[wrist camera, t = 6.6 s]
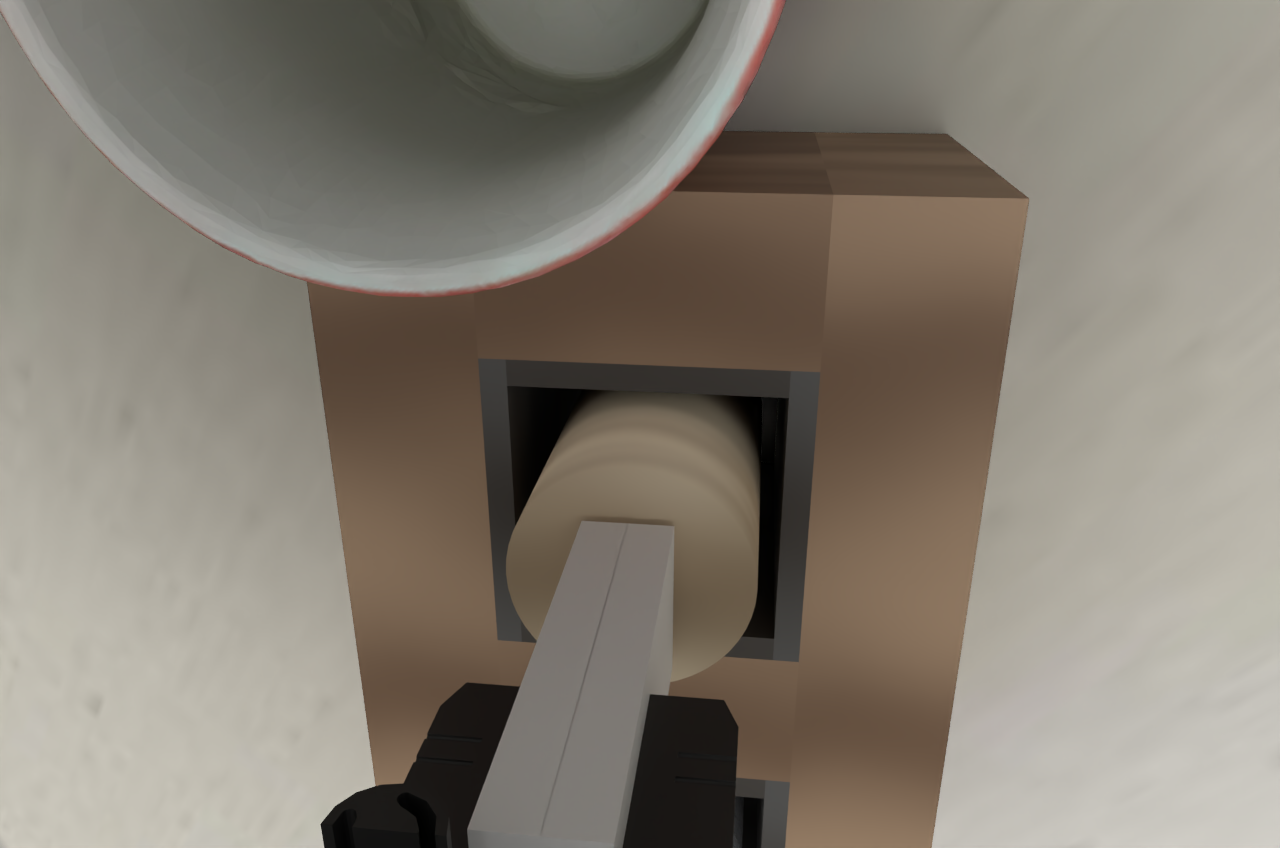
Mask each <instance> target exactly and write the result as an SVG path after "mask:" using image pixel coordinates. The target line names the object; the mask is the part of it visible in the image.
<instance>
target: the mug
mask: <svg viewBox="0 0 1280 848" xmlns="http://www.w3.org/2000/svg"><path fill="white" fill-rule="evenodd" d="M785 2H786V0H0V12H1V13H2V15H3V17H4V19H5V21H6V22H7V24H8V26H9V28H10V29H11V31H12V33H13V35H14V36H15V38H16V40H17V41H18V43H19V45H20V46H21V48H22V50H23V51H24V53H25V54H26V56H27V58H28V59H29V61H30V62H31V64H32V66H33V67H34V69H35V70H36V72H37V74H38V75H39V76H40V78H41V79H42V81H43V82H44V84H45V85H46V86H47V88H48V89H49V91H50V92H51V94H52V95H53V96H54V97H55V99H56V100H57V101H58V102H59V104H60V105H61V106H62V108H63V109H64V110H65V111H66V113H67V114H68V115H69V116H70V118H71V119H72V120H73V121H74V123H75V124H76V125H77V126H78V128H79V129H80V130H81V131H82V132H83V134H84V135H85V136H86V137H87V138H88V139H89V140H90V141H91V142H92V143H93V144H94V146H95V147H96V148H97V149H98V150H99V151H100V152H101V153H102V154H103V155H104V156H105V157H106V158H107V159H108V160H109V161H110V162H111V163H112V164H113V165H114V166H115V167H116V168H117V169H118V170H119V171H120V172H122V173H123V174H124V175H125V176H126V177H127V178H128V179H129V180H131V181H132V182H133V183H134V184H135V185H136V186H137V187H139V188H140V189H141V190H142V191H143V192H145V193H146V194H147V195H148V196H150V197H151V198H152V199H153V200H155V201H156V202H157V203H158V204H160V205H161V206H162V207H163V208H165V209H166V210H168V211H169V212H170V213H172V214H173V215H175V216H176V217H177V218H179V219H180V220H182V221H183V222H184V223H186V224H187V225H189V226H190V227H191V228H193V229H194V230H196V231H197V232H199V233H201V234H202V235H204V236H205V237H207V238H209V239H210V240H212V241H214V242H215V243H217V244H219V245H220V246H222V247H223V248H226V249H228V250H230V251H232V252H234V253H236V254H238V255H240V256H242V257H244V258H246V259H248V260H250V261H252V262H254V263H257V264H260V265H263V266H266V267H269V268H271V269H273V270H276V271H278V272H281V273H283V274H285V275H288V276H291V277H295V278H298V279H301V280H304V281H308V282H311V283H314V284H319V285H323V286H327V287H332V288H336V289H340V290H346V291H352V292H358V293H365V294H371V295H378V296H395V297H445V296H454V295H463V294H471V293H476V292H480V291H484V290H490V289H496V288H501V287H505V286H508V285H511V284H515V283H518V282H521V281H525V280H528V279H532V278H535V277H539V276H541V275H543V274H546V273H548V272H550V271H552V270H555V269H557V268H559V267H562V266H564V265H566V264H569V263H571V262H573V261H576V260H578V259H579V258H581V257H583V256H585V255H586V254H588V253H590V252H592V251H593V250H595V249H597V248H599V247H600V246H602V245H604V244H606V243H608V242H609V241H611V240H612V239H614V238H615V237H617V236H618V235H620V234H621V233H622V232H624V231H625V230H626V229H628V228H629V227H631V226H632V225H633V224H635V223H636V222H637V221H639V220H640V219H642V218H643V217H644V216H645V215H646V214H648V213H649V212H650V211H651V210H652V209H654V208H655V207H656V206H657V205H658V204H660V203H661V202H662V201H663V200H664V199H666V198H667V197H668V196H669V194H670V193H671V192H672V191H673V190H674V189H675V188H676V187H677V186H678V184H679V183H680V182H681V181H682V180H683V179H684V178H685V177H686V176H687V175H688V174H689V173H690V172H691V171H692V170H693V169H694V168H695V167H696V166H697V164H698V163H699V162H700V160H701V159H702V158H703V156H704V155H705V154H706V152H707V151H708V150H709V149H710V147H711V146H712V145H713V144H714V142H715V141H716V140H717V139H718V137H719V136H720V134H721V133H722V131H723V129H724V127H725V126H726V124H727V122H728V121H729V119H730V118H731V117H732V115H733V114H734V112H735V111H736V110H737V108H738V107H739V105H740V104H741V103H742V101H743V99H744V97H745V95H746V93H747V91H748V89H749V87H750V85H751V84H752V82H753V80H754V78H755V76H756V74H757V72H758V70H759V67H760V65H761V62H762V60H763V57H764V55H765V53H766V50H767V48H768V46H769V43H770V41H771V39H772V37H773V34H774V32H775V30H776V27H777V24H778V21H779V19H780V16H781V13H782V10H783V7H784V5H785Z"/></svg>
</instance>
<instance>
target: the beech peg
mask: <svg viewBox="0 0 1280 848" xmlns="http://www.w3.org/2000/svg"><path fill="white" fill-rule="evenodd" d="M761 445H762V399H761V397H752V396H729V395H706V394H683V393H660V392H637V391H614V390H591V389H582V391H581V393H580V395H579V397H578V399H577V401H576V403H575V405H574V407H573V410H572V412H571V414H570V416H569V418H568V420H567V422H566V424H565V426H564V428H563V430H562V432H561V434H560V436H559V438H558V440H557V442H556V444H555V446H554V448H553V451H552V453H551V455H550V457H549V459H548V461H547V463H546V465H545V467H544V469H543V471H542V473H541V475H540V477H539V479H538V481H537V483H536V485H535V487H534V489H533V491H532V494H531V496H530V498H529V500H528V502H527V504H526V506H525V508H524V510H523V512H522V514H521V516H520V518H519V520H518V522H517V524H516V526H515V528H514V530H513V533H512V536H511V539H510V542H509V545H508V551H507V557H506V577H507V584H508V589H509V593H510V596H511V600H512V602H513V605H514V607H515V609H516V611H517V614H518V615H519V617H520V619H521V620H522V622H523V624H524V625H525V627H526V628H527V629H528V631H529V632H530V633H531V635H532V636H533V637H534V638H535V639H536V640H538V637H539V634H540V632H541V629H542V626H543V624H544V621H545V618H546V616H547V613H548V610H549V608H550V605H551V602H552V599H553V597H554V594H555V591H556V589H557V586H558V583H559V581H560V578H561V575H562V573H563V570H564V567H565V564H566V562H567V559H568V556H569V554H570V551H571V548H572V546H573V543H574V540H575V538H576V535H577V532H578V529H579V527H580V524H581V521H595V522H613V523H630V524H647V525H664V526H674V586H673V657H672V673H671V680H670V682H673V681H678V680H681V679H684V678H687V677H690V676H692V675H694V674H697V673H699V672H701V671H703V670H705V669H707V668H708V667H710V666H711V665H713V664H715V663H716V662H718V661H719V660H720V659H721V658H722V657H724V656H725V655H726V654H727V653H728V652H729V651H730V650H731V649H732V648H733V647H734V646H735V644H736V643H737V642H738V641H739V639H740V638H741V636H742V635H743V633H744V632H745V630H746V628H747V626H748V624H749V622H750V620H751V618H752V615H753V611H754V608H755V604H756V597H757V590H758V554H759V517H760V481H761Z"/></svg>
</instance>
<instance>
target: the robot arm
mask: <svg viewBox="0 0 1280 848" xmlns="http://www.w3.org/2000/svg"><path fill="white" fill-rule="evenodd" d="M673 586H674V526H664V525H647V524H630V523H613V522H595V521H581V524H580V527H579V529H578V532H577V535H576V538H575V540H574V543H573V546H572V548H571V551H570V554H569V556H568V559H567V562H566V564H565V567H564V570H563V573H562V575H561V578H560V581H559V583H558V586H557V589H556V591H555V594H554V597H553V599H552V602H551V605H550V608H549V610H548V613H547V616H546V618H545V621H544V624H543V626H542V629H541V632H540V634H539V637H538V640H537V643H536V645H535V648H534V651H533V653H532V656H531V659H530V661H529V664H528V667H527V669H526V672H525V675H524V678H523V680H522V683H521V686H507V685H495V684H482V683H469V682H466V683H465V684H464V685H463V686H462V687H461V688H460V689H459V690H457V691H456V692H455V693H454V694H453V695H452V696H451V697H449V698H448V699H447V700H446V701H445V702H444V703H443V704H442V705H440V707H439V710H438V712H437V714H436V716H435V718H434V720H433V722H432V724H431V726H430V728H429V731H428V733H427V739H424V741H423V743H422V745H421V747H420V750H419V752H418V754H417V756H416V762H413V764H412V766H411V768H410V771H409V773H408V775H407V777H406V779H405V781H404V783H401V784H383V785H378V786H375V787H372V788H369V789H366V790H363V791H360V792H356V793H355V794H353V795H352V796H350V797H349V798H347V799H346V800H344V801H343V802H341V803H340V804H338V805H336V806H335V807H334V808H333V810H332V811H331V812H330V813H329V815H328V816H327V817H326V818H325V819H324V821H323V822H322V823H321V829H322V835H323V841H324V847H325V848H733V835H734V814H735V793H736V771H737V750H738V728H739V727H738V725H737V723H736V721H735V719H734V718H733V716H732V714H731V712H730V710H729V708H728V706H727V704H726V702H725V701H724V700H719V699H706V698H693V697H680V696H668V693H669V686H670V680H671V673H672V657H673Z"/></svg>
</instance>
